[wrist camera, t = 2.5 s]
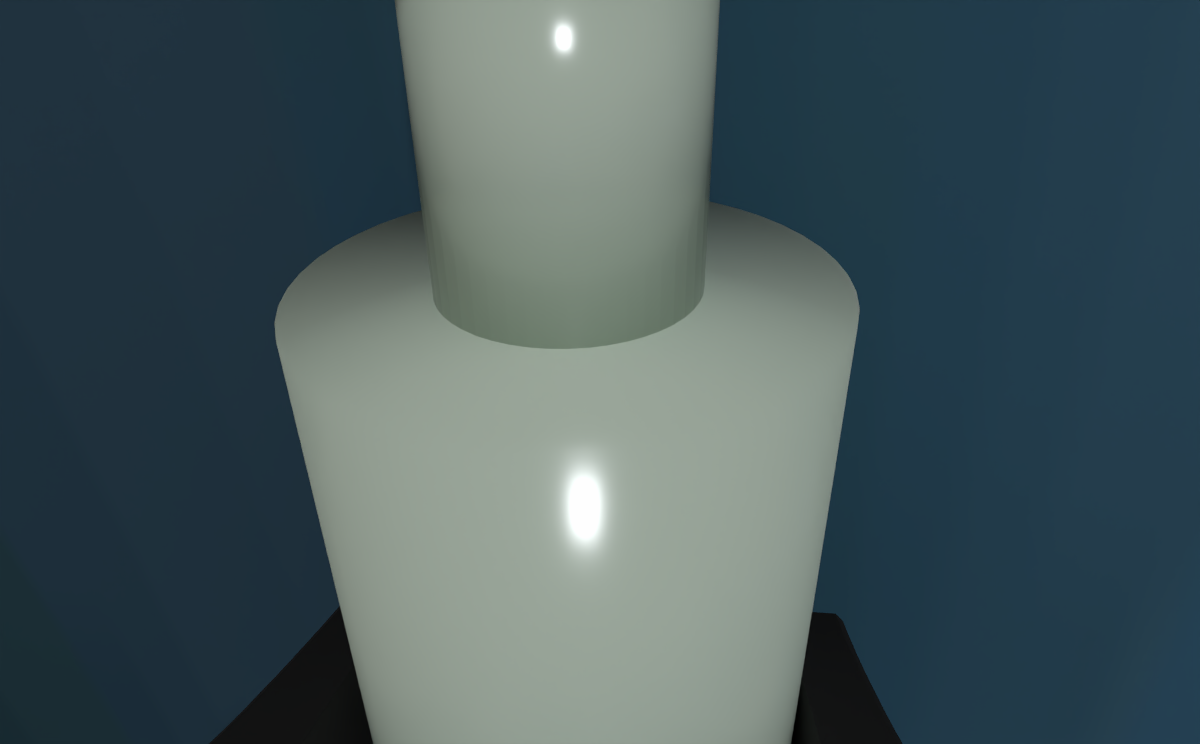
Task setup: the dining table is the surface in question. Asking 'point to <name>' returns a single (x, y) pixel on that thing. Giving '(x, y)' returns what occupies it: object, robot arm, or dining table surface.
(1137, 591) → the dining table surface
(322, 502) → the bottle
